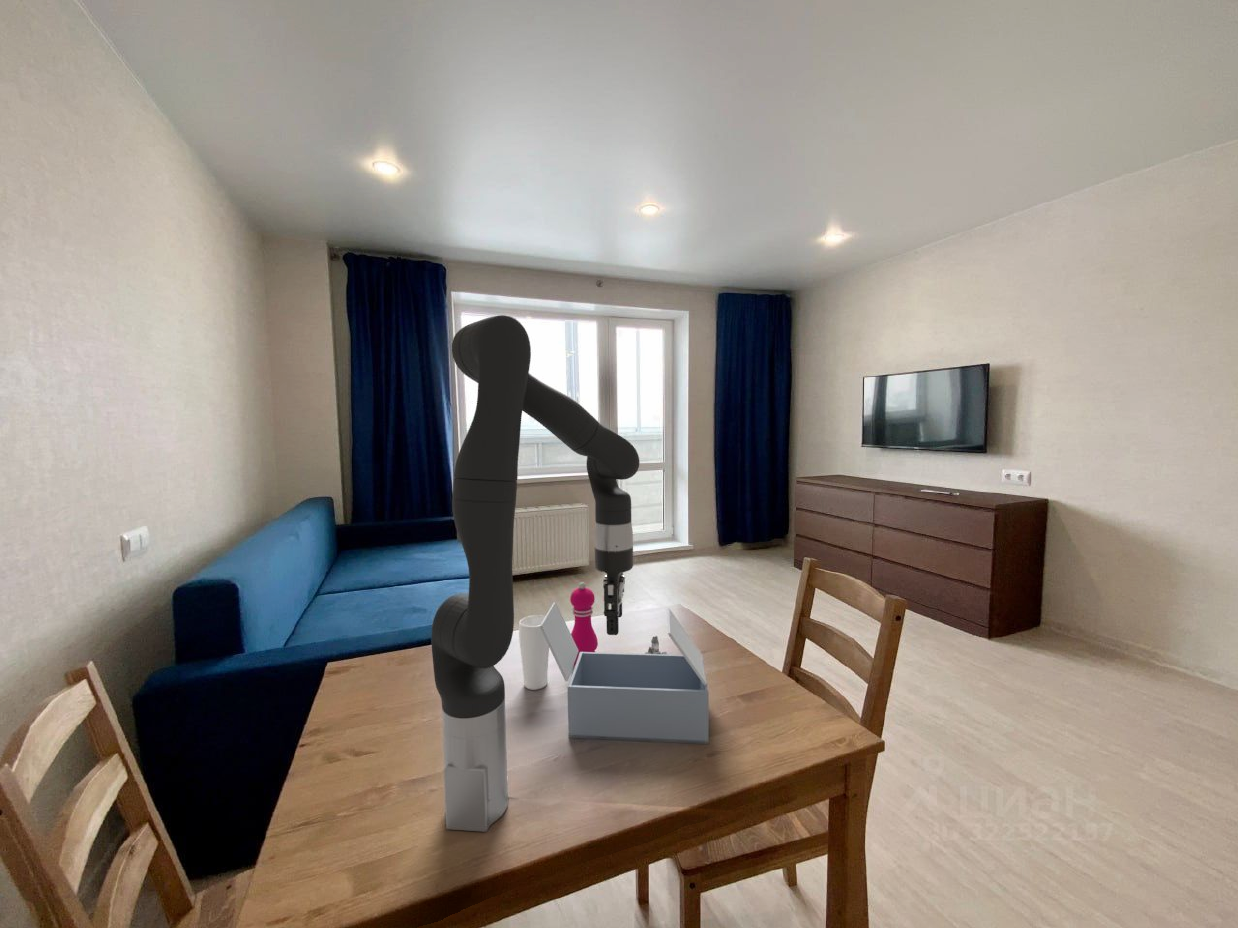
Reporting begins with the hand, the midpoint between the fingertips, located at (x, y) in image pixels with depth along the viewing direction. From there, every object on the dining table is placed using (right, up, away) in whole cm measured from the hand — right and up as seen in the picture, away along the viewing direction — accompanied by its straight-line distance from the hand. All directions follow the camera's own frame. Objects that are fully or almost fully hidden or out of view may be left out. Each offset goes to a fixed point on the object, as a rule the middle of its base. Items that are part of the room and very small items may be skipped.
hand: (614, 624), depth 96 cm
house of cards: (+12, -18, +23) cm, 31 cm away
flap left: (-11, -3, +1) cm, 11 cm away
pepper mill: (-8, -17, +25) cm, 32 cm away
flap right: (+14, -4, -1) cm, 14 cm away
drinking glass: (-18, -18, +14) cm, 29 cm away
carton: (+5, -19, +1) cm, 20 cm away
